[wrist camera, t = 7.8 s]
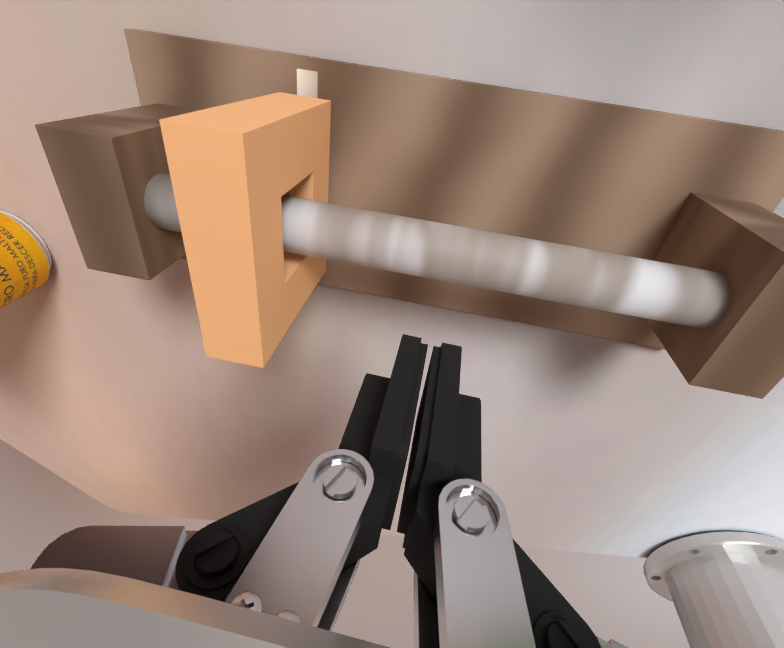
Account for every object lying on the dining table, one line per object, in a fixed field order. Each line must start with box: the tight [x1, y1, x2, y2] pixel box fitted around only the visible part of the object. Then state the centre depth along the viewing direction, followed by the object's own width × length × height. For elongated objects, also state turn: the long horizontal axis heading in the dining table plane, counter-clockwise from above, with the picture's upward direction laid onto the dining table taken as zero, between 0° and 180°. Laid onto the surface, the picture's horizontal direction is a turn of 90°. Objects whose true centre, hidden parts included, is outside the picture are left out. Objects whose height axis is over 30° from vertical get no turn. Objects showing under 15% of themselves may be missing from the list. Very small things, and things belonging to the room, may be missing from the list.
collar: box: [159, 92, 331, 368], centre depth 18 cm, size 2×9×9 cm, turn 173°
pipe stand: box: [35, 29, 784, 399], centre depth 19 cm, size 32×12×8 cm, turn 83°
